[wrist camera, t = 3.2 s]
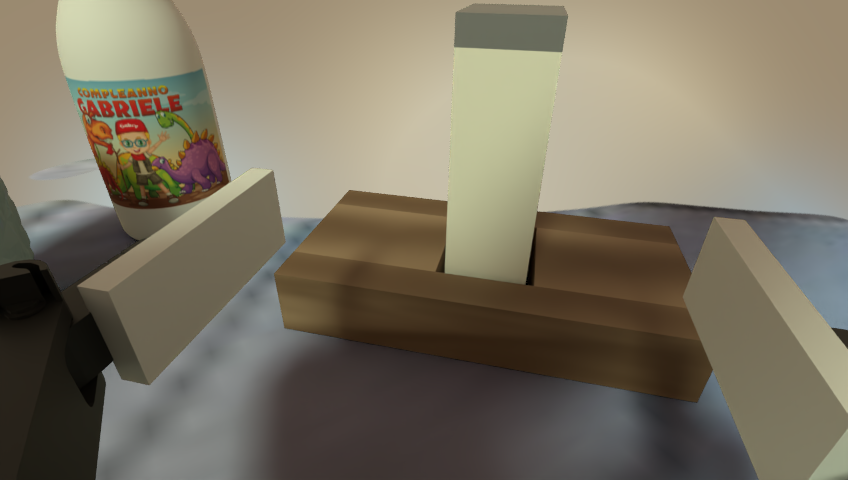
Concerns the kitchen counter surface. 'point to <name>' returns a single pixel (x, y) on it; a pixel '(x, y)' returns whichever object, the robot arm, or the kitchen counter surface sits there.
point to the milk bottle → (143, 107)
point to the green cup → (12, 231)
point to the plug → (500, 134)
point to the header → (502, 296)
